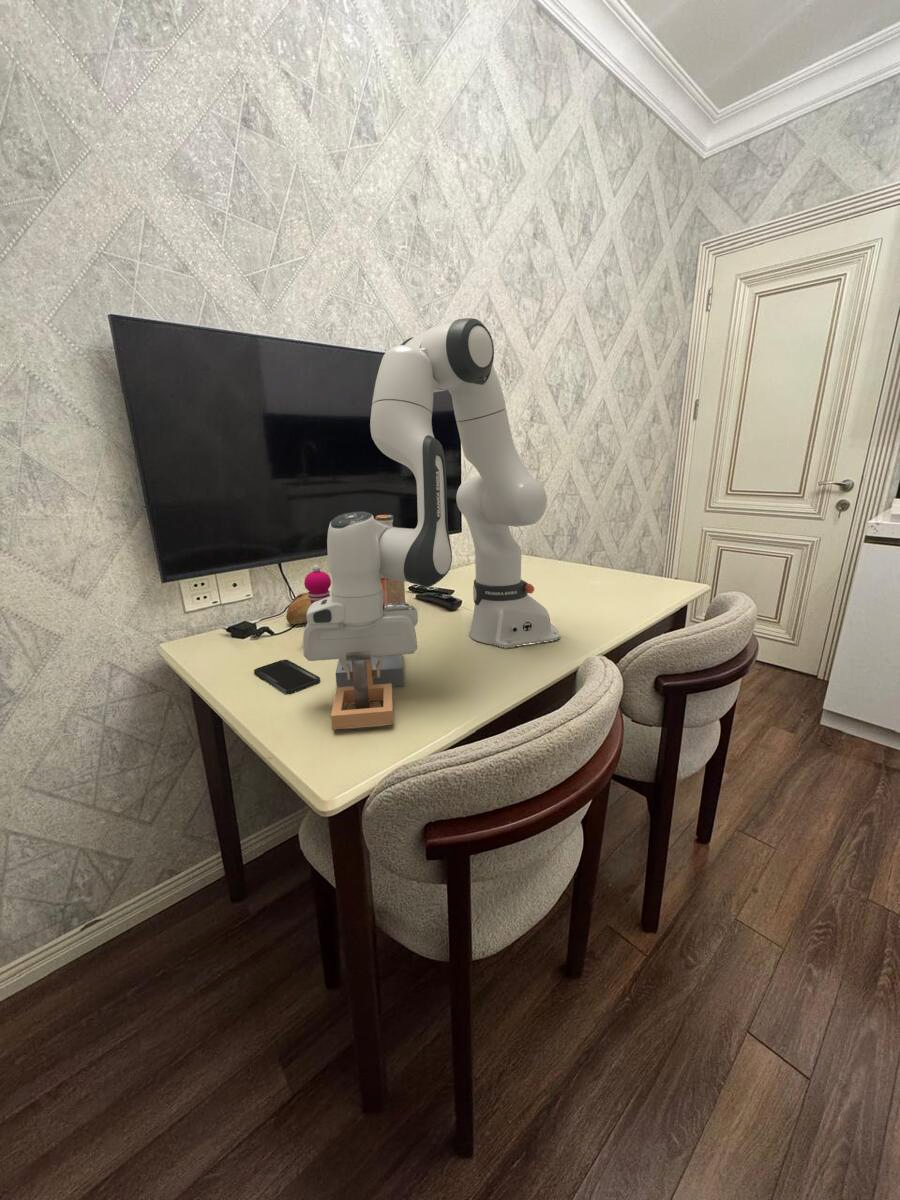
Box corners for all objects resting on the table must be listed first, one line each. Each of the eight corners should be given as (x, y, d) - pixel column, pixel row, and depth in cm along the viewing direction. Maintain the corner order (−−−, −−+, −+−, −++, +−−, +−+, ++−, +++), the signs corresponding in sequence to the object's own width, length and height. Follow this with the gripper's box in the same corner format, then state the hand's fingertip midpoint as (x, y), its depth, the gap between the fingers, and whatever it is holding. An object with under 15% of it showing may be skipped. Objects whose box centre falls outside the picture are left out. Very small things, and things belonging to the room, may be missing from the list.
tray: (401, 655, 109) (400, 640, 108) (403, 685, 95) (402, 668, 94) (343, 659, 107) (342, 644, 106) (337, 690, 93) (335, 672, 92)
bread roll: (281, 621, 133) (278, 594, 131) (332, 611, 142) (330, 585, 139) (293, 631, 126) (289, 602, 124) (345, 619, 134) (343, 592, 132)
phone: (285, 658, 107) (322, 678, 97) (286, 663, 107) (322, 683, 97) (251, 670, 101) (286, 692, 91) (252, 674, 102) (286, 697, 92)
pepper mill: (331, 652, 112) (323, 568, 106) (303, 650, 113) (293, 568, 107) (344, 640, 118) (337, 562, 113) (317, 639, 120) (309, 561, 114)
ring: (392, 689, 91) (390, 656, 89) (393, 724, 79) (390, 686, 77) (339, 693, 90) (335, 659, 88) (332, 729, 78) (328, 691, 76)
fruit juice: (403, 616, 136) (398, 517, 128) (370, 616, 136) (363, 518, 128) (407, 606, 145) (403, 513, 137) (376, 606, 145) (370, 513, 137)
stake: (380, 706, 87) (376, 645, 83) (380, 723, 81) (375, 659, 78) (347, 708, 86) (341, 647, 83) (344, 726, 81) (338, 661, 77)
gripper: (416, 597, 88) (419, 666, 92) (302, 604, 86) (310, 674, 90) (418, 608, 82) (421, 680, 86) (296, 615, 80) (305, 689, 84)
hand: (364, 677), depth 88 cm, fingers closed on ring, 3 cm apart
